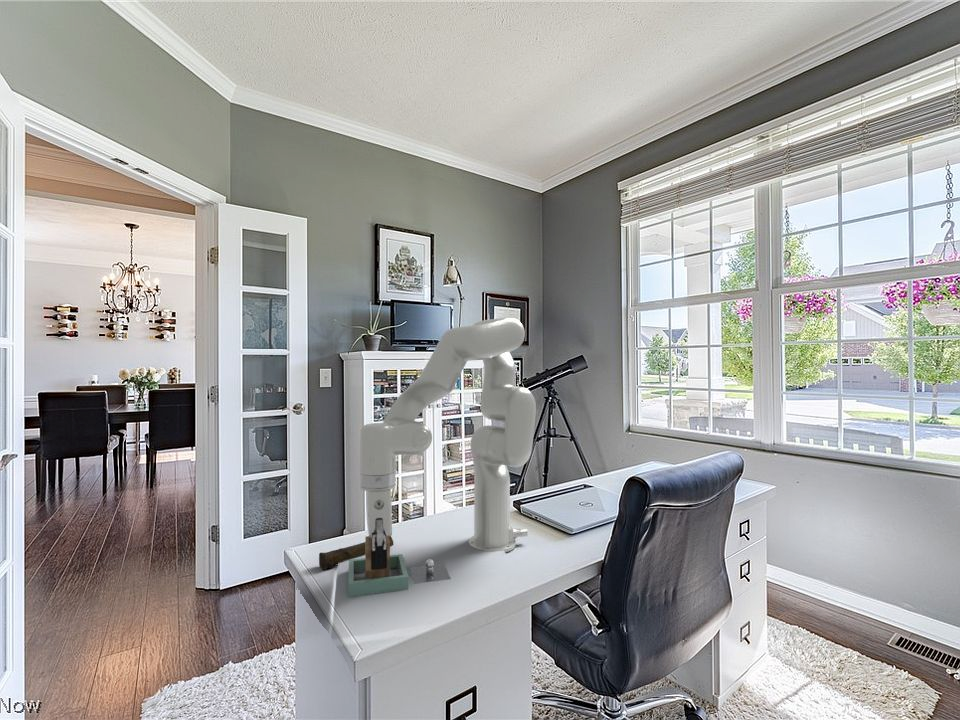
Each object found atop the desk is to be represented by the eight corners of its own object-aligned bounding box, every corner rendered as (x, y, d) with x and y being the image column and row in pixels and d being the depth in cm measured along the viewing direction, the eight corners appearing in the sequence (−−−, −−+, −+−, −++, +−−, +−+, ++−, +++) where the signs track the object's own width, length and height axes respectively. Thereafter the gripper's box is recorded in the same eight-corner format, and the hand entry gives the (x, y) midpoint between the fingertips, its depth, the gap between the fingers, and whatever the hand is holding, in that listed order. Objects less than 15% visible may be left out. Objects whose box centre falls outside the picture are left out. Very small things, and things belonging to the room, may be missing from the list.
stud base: (443, 567, 106) (443, 550, 106) (450, 583, 98) (450, 564, 98) (409, 571, 103) (409, 554, 104) (414, 588, 96) (414, 569, 96)
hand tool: (323, 573, 103) (323, 553, 103) (317, 567, 107) (318, 547, 107) (397, 553, 115) (398, 535, 115) (390, 548, 118) (391, 530, 118)
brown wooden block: (388, 574, 101) (388, 534, 101) (389, 585, 96) (389, 542, 96) (365, 577, 99) (365, 536, 100) (365, 588, 95) (365, 545, 95)
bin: (402, 569, 105) (402, 553, 105) (408, 593, 93) (408, 576, 94) (348, 575, 102) (349, 559, 102) (348, 601, 90) (348, 584, 90)
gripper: (399, 489, 91) (399, 574, 90) (392, 470, 107) (392, 542, 107) (360, 492, 89) (360, 579, 88) (359, 472, 105) (359, 546, 105)
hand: (377, 559), depth 98 cm, fingers open, 9 cm apart
